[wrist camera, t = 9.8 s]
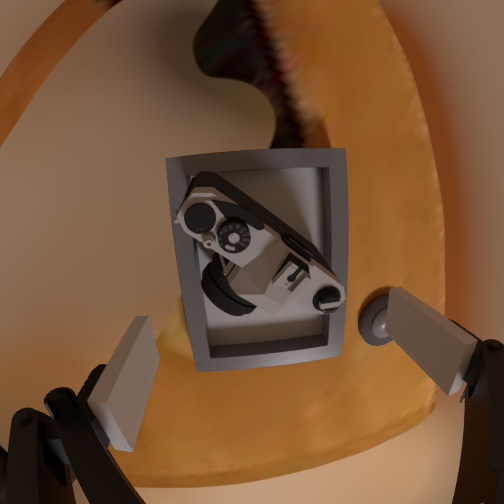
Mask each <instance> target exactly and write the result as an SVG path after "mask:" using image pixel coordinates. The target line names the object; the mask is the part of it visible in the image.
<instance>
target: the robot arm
mask: <svg viewBox="0 0 504 504" xmlns="http://www.w3.org/2000/svg"><path fill="white" fill-rule="evenodd" d="M384 331H385V332H386V333H387V334H388V335H389V336H390V337H391V338H392V339H393V340H394V341H395V342H396V343H397V344H398V345H399V346H400V347H401V348H402V349H403V350H404V351H405V352H406V353H407V354H408V355H409V356H410V357H411V358H412V359H413V360H414V361H415V362H416V363H417V364H418V365H419V366H420V367H421V368H422V369H423V370H424V371H425V373H426V374H427V375H428V376H429V377H430V378H431V379H432V380H433V381H434V382H435V383H436V384H437V385H438V386H439V387H440V388H441V389H442V390H443V391H444V393H446V395H447V396H449V395H451V394H453V393H455V392H457V391H458V390H459V389H460V387H461V384H462V382H463V380H464V381H465V382H466V383H467V386H466V388H465V390H464V392H463V395H462V397H461V399H460V402H462V400H463V399H464V398H465V402H464V403H465V415H464V431H463V442H462V451H461V459H460V466H459V472H458V478H457V483H456V488H455V493H454V497H453V501H452V504H504V345H503V344H502V343H501V342H499V341H497V340H493V339H488V340H485V341H484V342H483V341H482V340H480V339H479V338H478V337H476V336H475V335H473V334H472V333H471V332H469V331H466V329H465V328H464V327H461V325H459V324H458V323H456V322H455V321H453V320H450V319H447V318H446V317H444V316H443V315H441V314H440V313H439V312H437V311H436V310H434V309H433V308H431V307H430V306H428V305H427V304H425V303H424V302H422V301H421V300H419V299H418V298H416V297H415V296H413V295H412V294H410V293H409V292H407V291H406V290H404V289H403V288H401V287H397V288H391V289H390V291H389V300H388V308H387V316H386V323H385V330H384ZM159 361H160V357H159V354H158V350H157V346H156V342H155V338H154V335H153V331H152V327H151V322H150V318H149V316H136V317H135V318H134V320H133V321H132V323H131V325H130V326H129V328H128V329H127V331H126V333H125V335H124V336H123V338H122V339H121V341H120V343H119V345H118V346H117V348H116V350H115V351H114V353H113V355H112V357H111V359H110V360H109V362H108V364H107V365H105V364H100V365H98V366H97V367H96V368H95V369H93V370H92V371H91V373H90V375H89V376H88V379H87V380H86V382H85V383H84V385H83V386H82V388H81V390H80V392H79V393H78V395H77V396H76V394H75V393H74V391H73V390H72V389H70V388H67V387H60V388H56V389H54V390H52V391H50V392H49V393H48V394H47V395H46V397H45V398H44V405H45V407H46V408H47V410H48V412H49V413H50V415H51V416H52V417H50V416H48V415H46V414H44V413H42V412H40V411H37V410H34V409H32V408H23V409H21V410H19V411H17V412H16V413H15V414H14V416H13V418H12V423H11V429H10V437H9V446H8V452H6V451H5V450H4V448H2V446H1V445H0V504H76V502H75V497H74V492H73V486H72V483H73V482H74V481H75V480H76V479H77V480H78V482H79V484H80V486H81V488H82V490H83V492H84V494H85V496H86V498H87V499H88V501H89V503H90V504H146V503H145V502H144V500H143V499H142V498H141V497H140V495H139V494H138V493H137V491H136V490H135V489H134V487H133V486H132V485H131V483H130V482H129V480H128V479H127V477H126V476H125V475H124V473H123V472H122V470H121V469H120V467H119V466H118V464H117V463H116V461H115V459H114V458H113V456H112V455H111V453H110V452H109V450H108V449H107V448H108V446H109V443H110V442H111V444H112V445H113V447H114V448H115V450H121V451H129V452H133V450H134V446H135V443H136V439H137V435H138V431H139V428H140V424H141V421H142V417H143V414H144V410H145V407H146V403H147V400H148V397H149V393H150V390H151V387H152V383H153V380H154V377H155V374H156V371H157V367H158V364H159Z"/></svg>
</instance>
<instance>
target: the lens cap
mask: <svg viewBox="0 0 504 504" xmlns="http://www.w3.org/2000/svg"><path fill="white" fill-rule="evenodd" d="M388 300H389V294H384V295H381V296H378V297H376V298H375V299H373V300H372V301H371V302H370V303H369V304H368V305H367V306H366V307H365V308H364V310H363V312H362V313H361V316H360V319H359V323H358V328H359V333H360V335H361V336H362V338H363V339H364V340H365V341H366V342H367V343H368V344H370V345H374V346H380V345H384V344H386V343H389V342H390V341H392V340H393V339H392V338H391V337H390V336H389V335H388V334H387V333H386V332H385V331H384V330H385V323H386V316H387V308H388Z"/></svg>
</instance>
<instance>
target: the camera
mask: <svg viewBox="0 0 504 504" xmlns="http://www.w3.org/2000/svg"><path fill="white" fill-rule="evenodd" d="M177 211H178V210H177V209H176V210H175V213H176V217H175V218H174V219H173V221H174V223H180V224H181V226H182V228H183V230H184V232H186V233H188V234H189V235H191V236H192V237H194V238H195V239H197V240H199V241H200V242H202V243H203V245H204V247H206V248H208V249H209V248H211V249H213V250H214V251H215V253H214V254H213V256H212V261H211V262H209V263H208V264H207V266H206V267H205V268H204V270H203V271H202V279H201V287H202V289H203V292H204V293H205V295H206V296H207V298H208V299H209V300H210V301H211V302H212V303H213V304H214V305H215V306H216V307H217V308H219V309H220V310H222V311H223V312H225V313H227V314H230V315H233V316H242V315H244V314H250V313H251V312H253V311H254V310H255V309H256V307H257V306H258V307H260V308H261V309H263V310H265V311H267V312H269V313H270V314H272V315H275V314H276V313H277V312H279V311H280V310H281V309H282V308H283V307H284V306H286V305H287V304H288V303H289V302H290V301H291V300H295V301H297V302H298V303H300V304H302V305H303V306H305V307H306V308H308V309H310V310H311V311H313V312H315V313H316V314H331V313H333V312H335V311H336V310H337V309H338V308H339V305H340V304H341V303H342V302H343V301H344V300H345V299H346V298H345V292H344V287H343V285H342V284H341V282H340V281H339V279H338V278H337V276H336V274H335V273H334V272H333V271H332V269H331V268H330V266H329V265H328V263H327V262H326V261H325V259H324V258H323V256H322V255H321V254H320V252H319V251H318V249H317V247H316V246H315V245H314V244H313V243H311V242H310V241H309V240H307V239H306V238H305V237H304V236H302V235H301V234H300V233H298V232H297V231H296V230H294V229H293V228H292V227H290V226H289V225H288V224H286V223H285V222H284V221H283V220H281V219H280V218H279V217H277V216H276V215H275V214H273V213H272V212H270V211H269V210H268V209H266V208H265V207H264V206H262V205H261V204H260V203H258V202H257V201H256V200H254V199H253V198H251V197H250V196H249V195H247V194H246V193H245V192H243V191H242V190H240V189H239V188H238V187H236V186H235V185H233V184H232V183H231V182H229V181H228V180H226V179H225V178H224V177H222V176H221V175H219V174H218V173H217V172H215V171H199V173H198V174H197V175H196V177H195V178H194V177H193V178H192V179H191V181H190V184H189V186H188V188H187V191H186V193H185V196H184V199H183V202H182V204H181V205H180V207H179V212H177ZM177 213H178V214H177Z"/></svg>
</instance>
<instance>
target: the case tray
mask: <svg viewBox="0 0 504 504" xmlns="http://www.w3.org/2000/svg"><path fill="white" fill-rule="evenodd" d="M166 167H167V180H168V191H169V201H170V211H171V221H172V228H173V237H174V245H175V253H176V259H177V267H178V273H179V280H180V286H181V292H182V298H183V304H184V310H185V315H186V321H187V326H188V331H189V336H190V341H191V346H192V351H193V356H194V361H195V365H196V370H197V372H200V371H220V370H235V369H247V368H257V367H267V366H276V365H284V364H291V363H298V362H305V361H312V360H318V359H324V358H329V357H335V356H340V355H341V354H342V344H343V334H344V323H345V310H346V299H345V300H344V301H343V302H342V303H341V304H340V305H339V308H338V309H337V310H336V311H335V312H333V313H331V314H316V313H315V312H313V311H311V310H310V309H308V308H306V307H305V306H303V305H302V304H300V303H298V302H297V301H295V300H291V301H290V302H289V303H288V304H287V305H286V306H284V307H283V308H282V309H281V310H280V311H279V312H277V313H276V314H275V315H272V314H270V313H269V312H267V311H265V310H263V309H261V308H260V307H258V306H257V307H256V309H255V310H254V311H253V312H251V313H250V314H244V315H242V316H233V315H230V314H227V313H225V312H223V311H222V310H220V309H219V308H217V307H216V306H215V305H214V304H213V303H212V302H211V301H210V300H209V299H208V298H207V296H206V295H205V293H204V292H203V289H202V287H201V279H202V271H203V270H204V268H205V267H206V266H207V264H208V263H209V262H211V261H212V256H213V254H214V253H215V251H214V250H213V249H211V248H209V249H208V248H206V247H204V245H203V243H202V242H200V241H199V240H197V239H195V238H194V237H192V236H191V235H189V234H188V233H186V232H184V230H183V228H182V226H181V224H180V223H174V221H173V219H174V218H175V217H176V213H175V210H176V209H177V210H178V211H177V212H179V207H180V205H181V204H182V202H183V199H184V196H185V193H186V191H187V188H188V186H189V184H190V181H191V179H192V178H193V177H194V178H195V177H196V175H197V174H198V173H199V171H215V172H217V173H218V174H219V175H221V176H222V177H224V178H225V179H226V180H228V181H229V182H231V183H232V184H233V185H235V186H236V187H238V188H239V189H240V190H242V191H243V192H245V193H246V194H247V195H249V196H250V197H251V198H253V199H254V200H256V201H257V202H258V203H260V204H261V205H262V206H264V207H265V208H266V209H268V210H269V211H270V212H272V213H273V214H275V215H276V216H277V217H279V218H280V219H281V220H283V221H284V222H285V223H286V224H288V225H289V226H290V227H292V228H293V229H294V230H296V231H297V232H298V233H300V234H301V235H302V236H304V237H305V238H306V239H307V240H309V241H310V242H311V243H313V244H314V245H315V246H316V247H317V249H318V251H319V252H320V254H321V255H322V256H323V258H324V259H325V261H326V262H327V263H328V265H329V266H330V268H331V269H332V271H333V272H334V273H335V274H336V276H337V278H338V279H339V281H340V282H341V284H342V285H343V287H344V292H345V298H346V295H347V274H348V186H347V165H346V150H345V149H344V148H284V149H259V150H243V151H229V152H217V153H207V154H198V155H189V156H181V157H174V158H166ZM177 214H178V213H177Z"/></svg>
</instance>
